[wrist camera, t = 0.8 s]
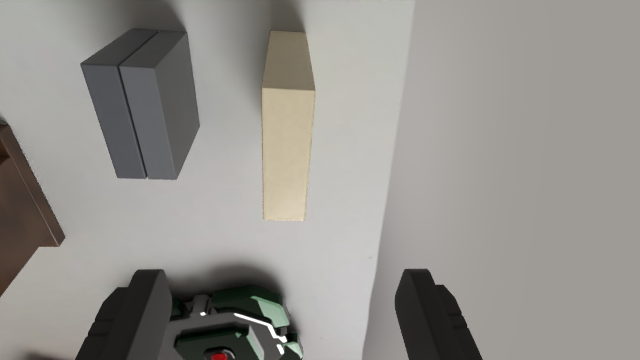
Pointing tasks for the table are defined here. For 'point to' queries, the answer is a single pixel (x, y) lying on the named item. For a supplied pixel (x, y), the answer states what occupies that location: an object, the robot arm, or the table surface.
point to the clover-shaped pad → (231, 327)
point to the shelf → (21, 212)
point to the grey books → (145, 102)
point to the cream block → (286, 125)
